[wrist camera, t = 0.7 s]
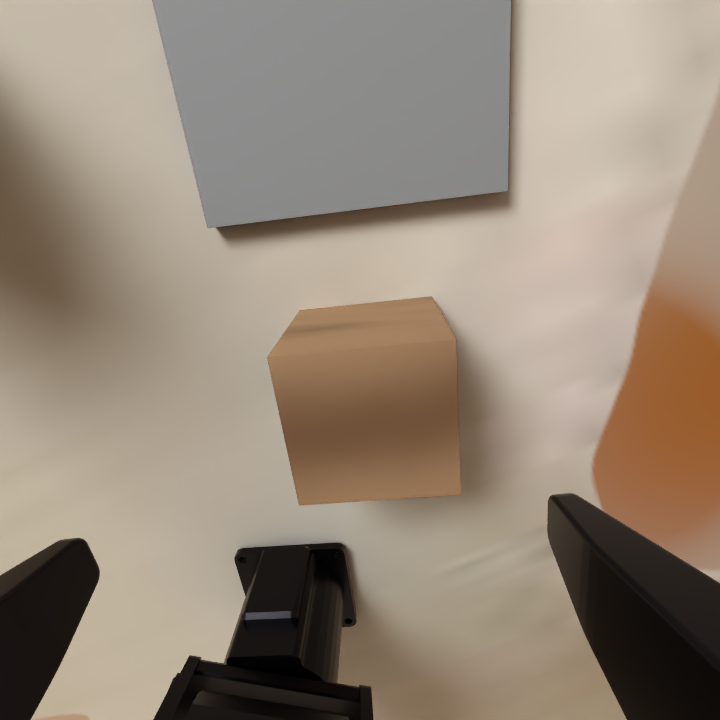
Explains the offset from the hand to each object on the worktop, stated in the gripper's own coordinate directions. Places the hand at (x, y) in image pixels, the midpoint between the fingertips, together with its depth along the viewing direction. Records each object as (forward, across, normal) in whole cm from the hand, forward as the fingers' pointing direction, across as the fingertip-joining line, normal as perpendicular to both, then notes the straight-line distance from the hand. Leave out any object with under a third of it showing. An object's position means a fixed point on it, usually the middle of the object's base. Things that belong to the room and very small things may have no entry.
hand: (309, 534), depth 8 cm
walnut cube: (+12, -1, +1) cm, 12 cm away
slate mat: (+12, -1, -12) cm, 17 cm away
